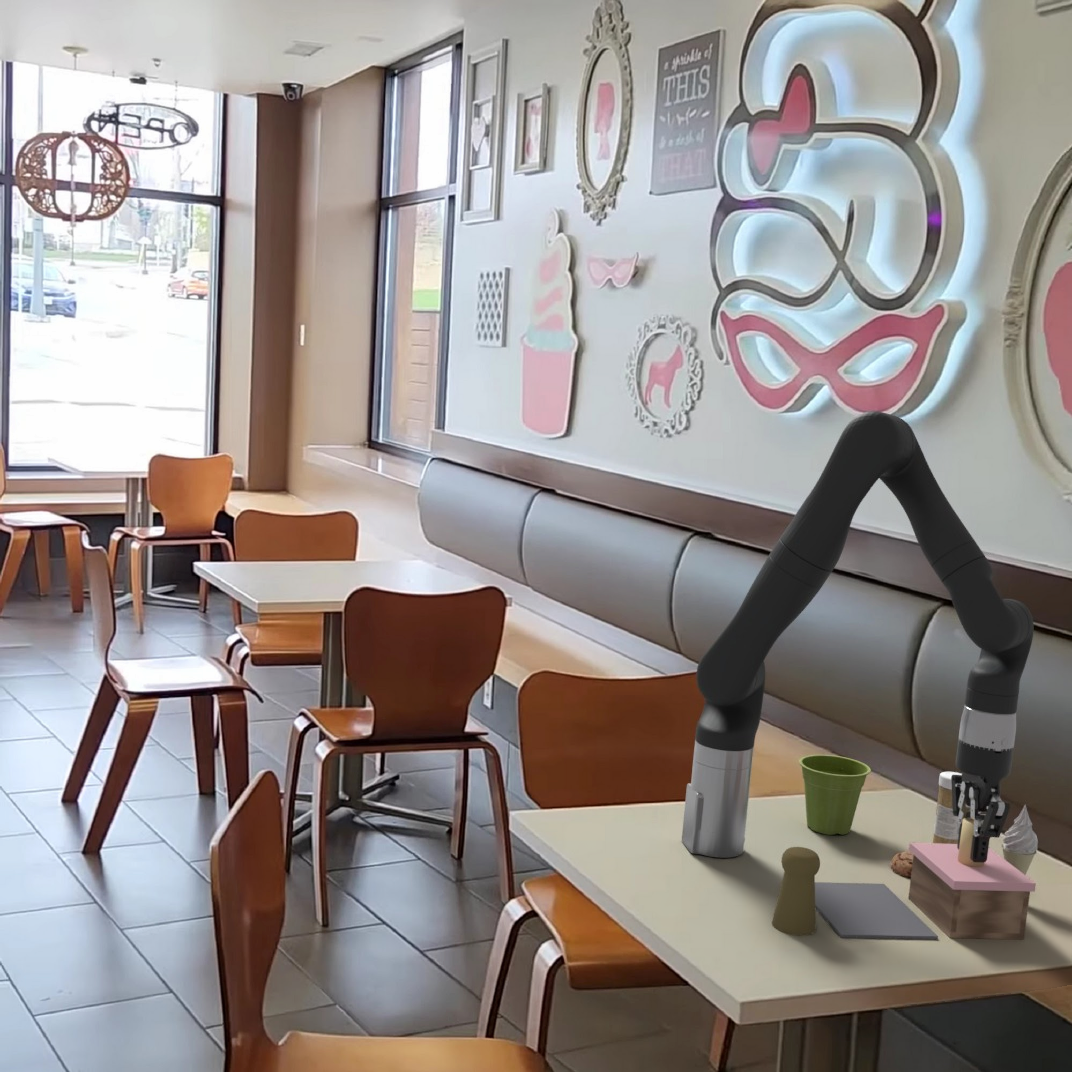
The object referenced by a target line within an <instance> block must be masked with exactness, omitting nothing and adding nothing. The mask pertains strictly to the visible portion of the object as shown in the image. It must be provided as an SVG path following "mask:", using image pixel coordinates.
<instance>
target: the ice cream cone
mask: <svg viewBox="0 0 1072 1072" xmlns="http://www.w3.org/2000/svg"><path fill="white" fill-rule="evenodd" d="M1032 826H1033V823H1032V821H1031V819H1030V815H1029V812H1028V810H1027V804H1024V805H1023V808H1022V809H1021V811H1020V813H1019V815H1018V816H1017V817H1016V818H1015V819H1014V820H1013V824H1012V825H1011V826H1010V827H1009V828H1008V830H1006V831H1005V832H1004V836H1005V837H1004V838H1003V840H1002V842H1003V843H1002V844H1001V845H1000V847H1001V849H1002V853H1003V854H1002V855H1003V859H1005V860H1006V861H1007V862H1009V863H1010V864H1011V865H1013V866H1014V867H1015V868H1016V869H1018V870H1019V871H1020V872H1022V873H1023V874H1024V875H1026V876H1027V873H1028V870H1029V869H1030V866H1031V864H1032V862H1033V859H1034V857H1035V855H1036V854H1037V851H1038V843H1039V841H1038V837H1037V834H1036V833H1035V831H1033V828H1032Z"/></svg>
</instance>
